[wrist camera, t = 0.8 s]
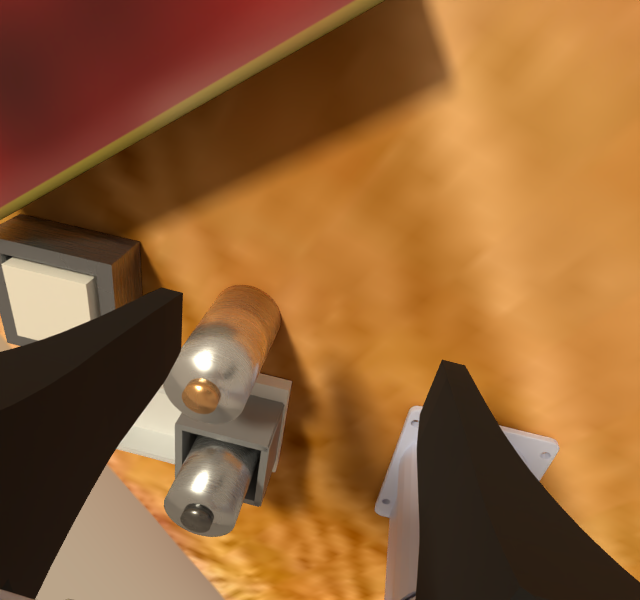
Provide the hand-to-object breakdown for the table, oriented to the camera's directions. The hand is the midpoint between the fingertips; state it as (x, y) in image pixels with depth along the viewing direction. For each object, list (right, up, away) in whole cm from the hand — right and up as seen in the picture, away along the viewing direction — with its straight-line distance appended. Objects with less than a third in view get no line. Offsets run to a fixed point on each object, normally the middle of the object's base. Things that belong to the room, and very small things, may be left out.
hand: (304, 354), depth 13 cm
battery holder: (-7, -5, +16) cm, 18 cm away
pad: (-13, +1, +11) cm, 17 cm away
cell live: (-3, +1, +12) cm, 13 cm away
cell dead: (-4, -6, +15) cm, 17 cm away
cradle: (-12, +2, +13) cm, 18 cm away
